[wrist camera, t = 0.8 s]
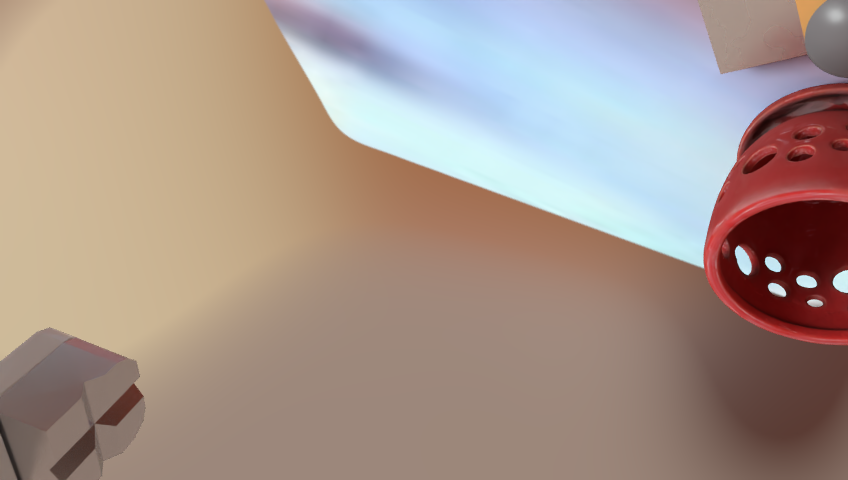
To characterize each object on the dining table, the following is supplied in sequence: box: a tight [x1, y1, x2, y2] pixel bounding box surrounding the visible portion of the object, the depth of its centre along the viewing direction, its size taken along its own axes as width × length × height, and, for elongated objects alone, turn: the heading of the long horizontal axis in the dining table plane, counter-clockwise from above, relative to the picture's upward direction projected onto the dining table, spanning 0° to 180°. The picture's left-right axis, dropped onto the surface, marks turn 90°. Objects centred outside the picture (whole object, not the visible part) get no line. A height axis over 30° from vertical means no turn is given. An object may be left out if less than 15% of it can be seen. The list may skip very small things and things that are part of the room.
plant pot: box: [704, 83, 848, 345], centre depth 44 cm, size 13×13×12 cm
